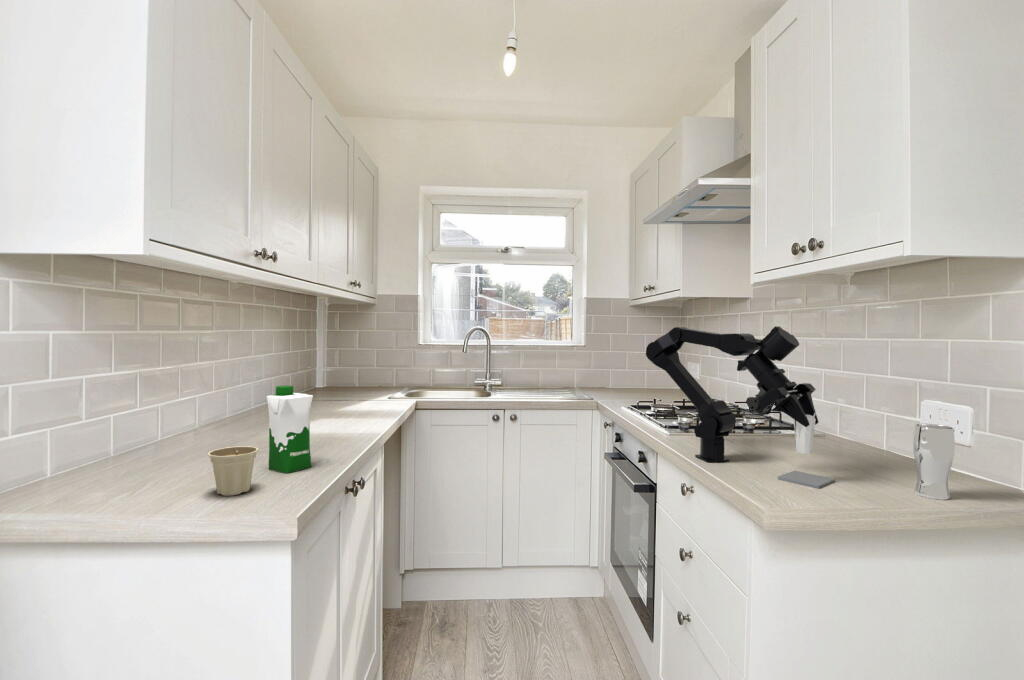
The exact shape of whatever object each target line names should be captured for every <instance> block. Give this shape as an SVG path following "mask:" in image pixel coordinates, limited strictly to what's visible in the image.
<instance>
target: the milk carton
mask: <svg viewBox="0 0 1024 680" xmlns="http://www.w3.org/2000/svg"><path fill="white" fill-rule="evenodd" d="M313 398H314V395H312V394H307V393H299V392H294V386H293V385H277V386H276V387H275V394H271V395H267V396H266V402H267V409H268V416H269V417H268V420H269V421H268V424H269V427H268V430H269V431H268V432H269V434H268V435H269V437H268V439H269V440H268V441H269V442H268V445H269V446H268V447H269V448H268V450H269V452H268V470H271V471H276V472H279V473H284V474H290V473H295V472H297V471H302V470H305V469H309V468H312V458H311V445H310V444H311V441H310V438H311V437H310V435H311V434H310V432H311V431H310V429H311V428H310V427H311V426H310V424H311V423H310V422H311V421H310V419H311V418H310V417H311V416H310V414H311V412H310V411H311V406H312V402H313Z"/></svg>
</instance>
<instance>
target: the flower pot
mask: <svg viewBox="0 0 1024 680" xmlns="http://www.w3.org/2000/svg"><path fill="white" fill-rule="evenodd" d="M258 451H259V448H258V447H257V446H256V447H255V446H249V445H244V446H243V445H242V446H241V445H238V446H229V447H223V448H222V447H221V448H216V449H213V450H210V451H208V453H207V456H208V457H210V462H211V464H212V468H213V474H214V481H215V487H216V493H217V494H218V495H221V496H225V497H226V496H237V495H240V494H241V493H247V492H249V491H250V490H251V485H252V484H251V483H252V477H253V471H254V470H253V469H254V464H255V463H254V462H255V459H256V456H257V452H258Z"/></svg>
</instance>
